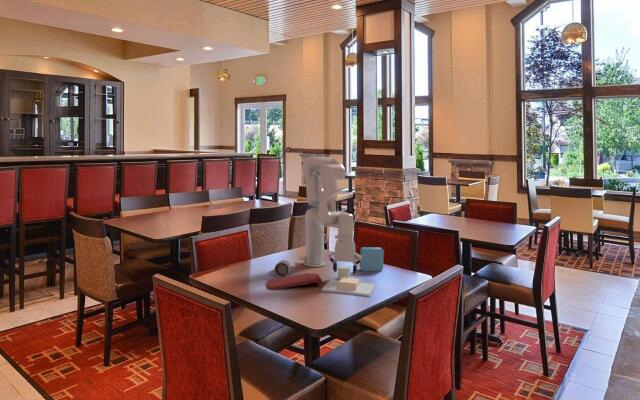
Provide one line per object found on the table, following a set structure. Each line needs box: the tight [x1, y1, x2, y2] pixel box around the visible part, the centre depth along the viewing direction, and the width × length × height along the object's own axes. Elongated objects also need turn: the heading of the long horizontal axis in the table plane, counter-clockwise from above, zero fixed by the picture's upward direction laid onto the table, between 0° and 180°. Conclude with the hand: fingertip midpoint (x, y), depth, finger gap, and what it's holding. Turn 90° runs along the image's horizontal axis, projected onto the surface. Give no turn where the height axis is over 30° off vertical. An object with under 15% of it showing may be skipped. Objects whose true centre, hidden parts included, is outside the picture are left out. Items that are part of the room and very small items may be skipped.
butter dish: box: [321, 277, 376, 297], centre depth 215 cm, size 22×16×4 cm
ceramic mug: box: [269, 259, 292, 278], centre depth 234 cm, size 11×8×8 cm
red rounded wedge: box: [266, 272, 323, 291], centre depth 219 cm, size 12×5×25 cm
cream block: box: [337, 265, 351, 281], centre depth 230 cm, size 5×5×6 cm
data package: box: [359, 246, 385, 272], centre depth 248 cm, size 12×4×12 cm, turn 96°
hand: (344, 272), depth 230 cm, fingers open, 9 cm apart
